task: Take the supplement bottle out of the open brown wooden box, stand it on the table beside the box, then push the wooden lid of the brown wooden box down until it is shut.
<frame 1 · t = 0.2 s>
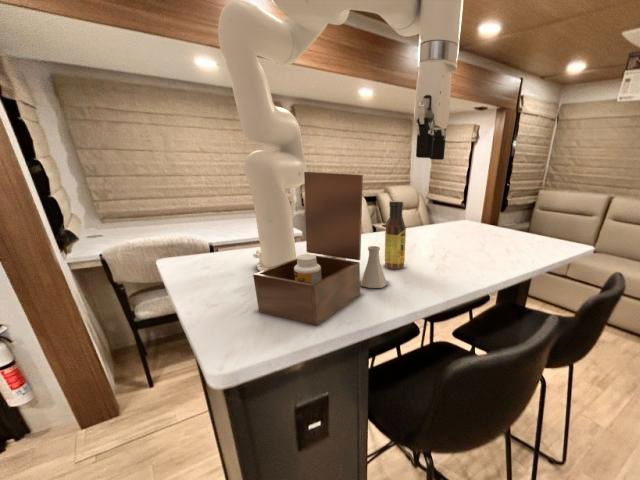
hand: (430, 158, 65), 31 cm above the table, tool pointing down, fingers open, 9 cm apart
breadbox lid: (337, 216, 73), point 18 cm above the table, hinge at 95.0°
brown wooden box: (313, 302, 70), on the table
flask: (373, 284, 83), on the table
supplement bottle: (310, 301, 69), point 1 cm above the table, touching brown wooden box
sauce bottle: (394, 267, 97), on the table
plastic bottle: (335, 267, 95), on the table
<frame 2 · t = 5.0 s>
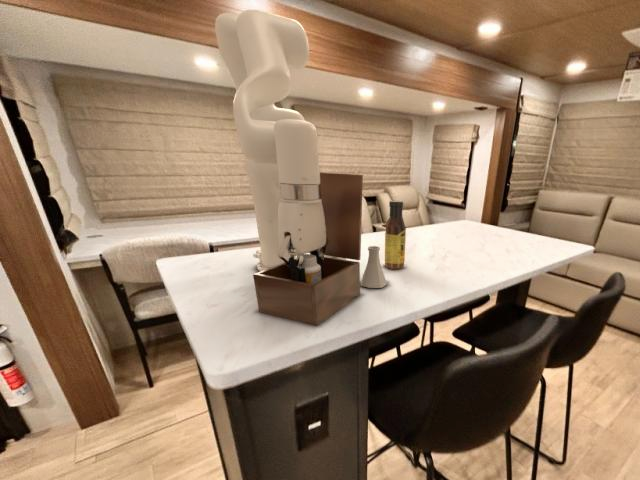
hand: (308, 280, 67), 6 cm above the table, tool pointing down, fingers closed on supplement bottle, 5 cm apart
supplement bottle: (310, 301, 69), point 1 cm above the table, touching brown wooden box, gripper
everything else where it was.
when the fingers open (5 cm above the table, at t = 12.9 s): supplement bottle stays where it is, on the table.
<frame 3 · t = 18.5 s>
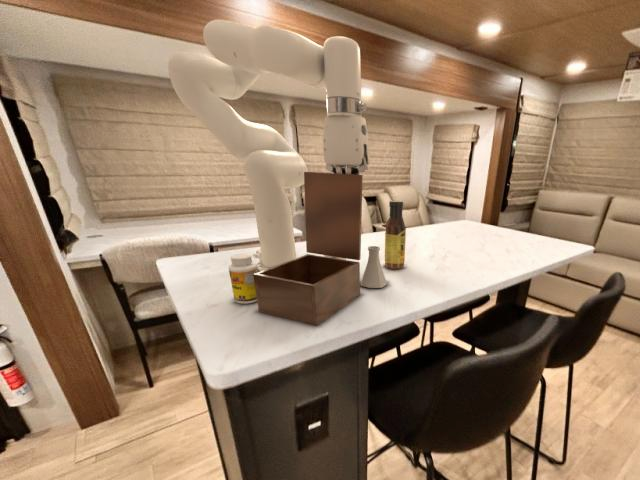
hand: (347, 197, 75), 22 cm above the table, tool pointing down, fingers closed
supplement bottle: (248, 300, 70), on the table
everything else where it was.
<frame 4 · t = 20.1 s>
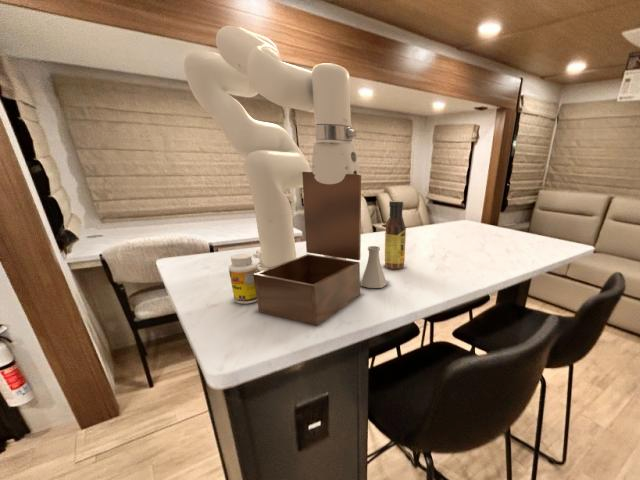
hand: (337, 223, 73), 16 cm above the table, tool pointing down, fingers closed
breadbox lid: (336, 215, 73), point 18 cm above the table, hinge at 92.6°, touching gripper
everything else where it was.
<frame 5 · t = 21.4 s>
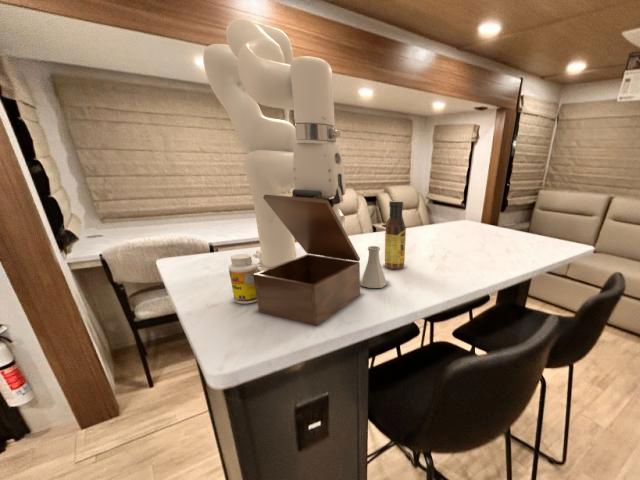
hand: (321, 229, 68), 16 cm above the table, tool pointing down, fingers closed
breadbox lid: (319, 223, 67), point 17 cm above the table, hinge at 49.5°
everything else where it was.
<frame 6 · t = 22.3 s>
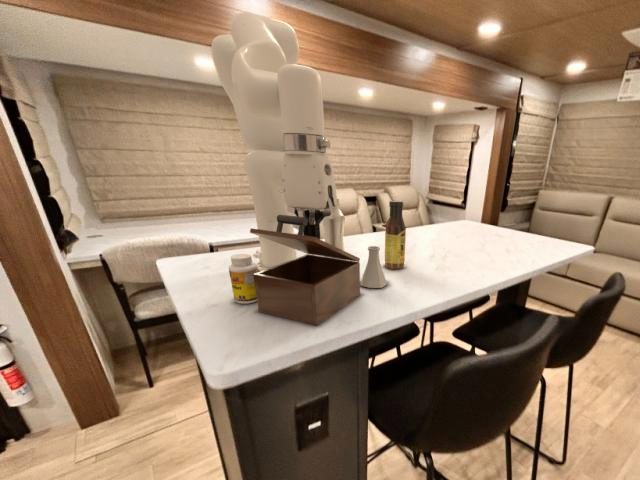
hand: (312, 242, 66), 14 cm above the table, tool pointing down, fingers closed
breadbox lid: (311, 237, 65), point 15 cm above the table, hinge at 25.9°, touching gripper
everything else where it was.
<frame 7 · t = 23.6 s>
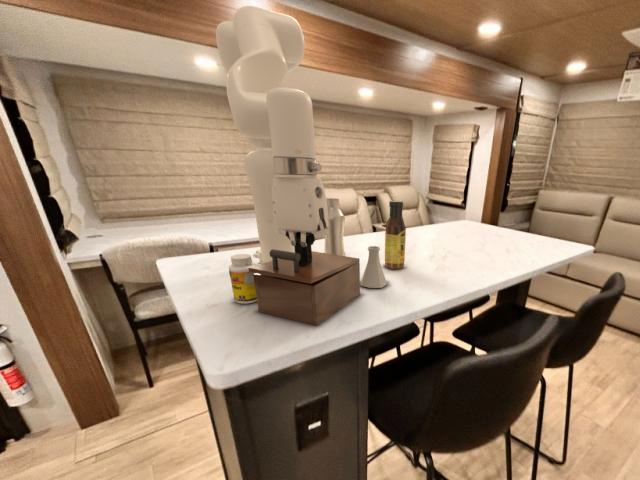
hand: (304, 264, 64), 10 cm above the table, tool pointing down, fingers closed
breadbox lid: (308, 255, 65), point 11 cm above the table, hinge at 2.1°, touching gripper
everything else where it was.
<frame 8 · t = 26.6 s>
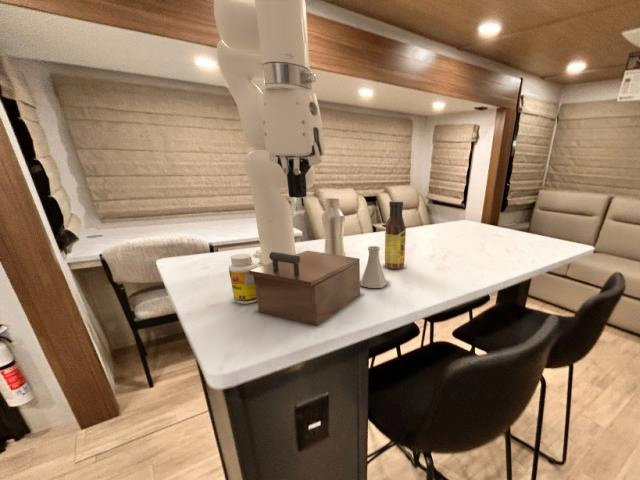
hand: (298, 196, 59), 23 cm above the table, tool pointing down, fingers closed
breadbox lid: (308, 257, 65), point 11 cm above the table, hinge at 0.5°
everything else where it was.
at the end: supplement bottle inside the target area (0.1 cm from its centre), on the table; supplement bottle tilted 0°; breadbox lid at +0° (first picture: +95°) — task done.
